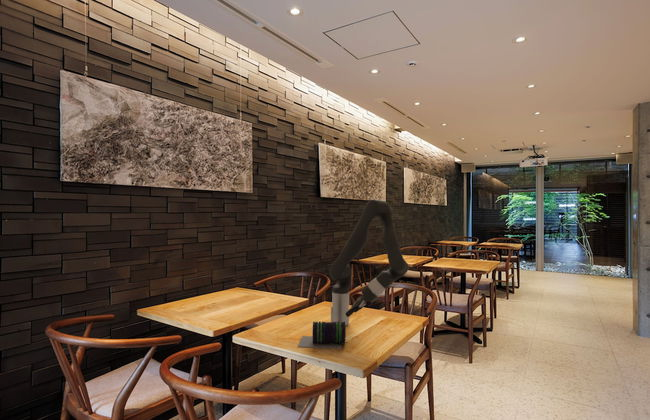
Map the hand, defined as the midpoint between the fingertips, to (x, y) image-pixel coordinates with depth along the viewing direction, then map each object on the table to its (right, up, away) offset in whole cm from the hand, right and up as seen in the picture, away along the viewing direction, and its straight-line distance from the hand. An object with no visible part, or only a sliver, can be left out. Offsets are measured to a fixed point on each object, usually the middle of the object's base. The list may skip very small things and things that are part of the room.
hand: (346, 315), depth 172 cm
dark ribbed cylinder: (-1, -8, -1) cm, 8 cm away
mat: (-12, -13, +1) cm, 18 cm away
